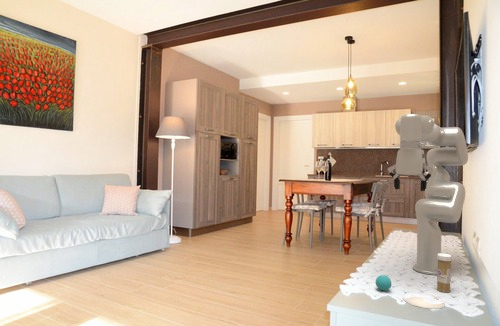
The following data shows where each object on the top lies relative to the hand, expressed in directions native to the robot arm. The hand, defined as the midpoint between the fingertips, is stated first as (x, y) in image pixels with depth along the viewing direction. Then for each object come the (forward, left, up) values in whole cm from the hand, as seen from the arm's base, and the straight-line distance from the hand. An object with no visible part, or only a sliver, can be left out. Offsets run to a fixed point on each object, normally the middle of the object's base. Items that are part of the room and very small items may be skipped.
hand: (409, 190), depth 138 cm
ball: (+14, -4, -34) cm, 37 cm away
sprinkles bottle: (-2, +12, -37) cm, 39 cm away
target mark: (+14, +10, -37) cm, 41 cm away
